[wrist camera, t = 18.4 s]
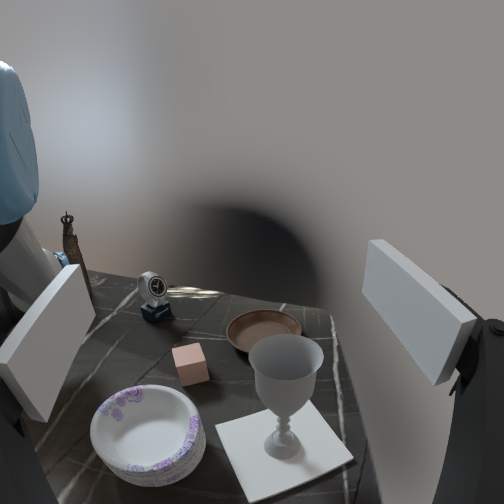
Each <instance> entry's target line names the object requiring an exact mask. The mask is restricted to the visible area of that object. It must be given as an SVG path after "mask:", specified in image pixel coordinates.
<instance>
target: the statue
mask: <svg viewBox="0 0 504 504" xmlns="http://www.w3.org/2000/svg"><path fill="white" fill-rule="evenodd" d="M63 218H65V219H64V220H65V222H64V221H63ZM67 218H70V221H69V222H67ZM71 220H72V221H71ZM61 222H62V223H63V226H64V228H63V248H64V253H65V254H66V256H67V258H68V261H69V264H70V265H74V264H80V266H81V270H82V273H83V277H84V280H85V284H86V287H87V290H88V293H89V295H90V293H91V285H90V282H89V279H88V275H87V271H86V268H85V264H84V262H83V258H82V255H81V252H80V249H79V246H78V239H77V236H76V234H75V236H74V235H73V228H72V224H71V223H72V222H73V216H71V215H67V212H66V215H65V216H63V217H62V218H61Z"/></svg>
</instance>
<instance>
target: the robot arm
mask: <svg viewBox="0 0 504 504" xmlns="http://www.w3.org/2000/svg"><path fill="white" fill-rule="evenodd" d="M38 189H39V181H38V166H37V157H36V149H35V143H34V137H33V133H32V130H31V127H30V114H29V110H28V105H27V101H26V98H25V94H24V91H23V87H22V85H21V82H20V80H19V77H18V76H17V74H16V72H15V71H14V69H13V68H12V67H11V66H10V65H8V64H4V63H3V62H1V61H0V504H59V503H58V501H57V499H56V497H55V495H54V493H53V491H52V489H51V487H50V485H49V483H48V481H47V479H46V477H45V474H44V472H43V470H42V467H41V465H40V463H39V460H38V458H37V455H36V453H35V450H34V448H33V445H32V442H31V439H30V437H29V434H28V431H27V428H26V425H25V422H24V420H23V418H22V417H21V416H20V414H21V412H22V410H23V409H24V411H25V412H26V413H27V415H28V416H29V417H30V418H31V419H32V420H36V421H41V422H45V423H47V422H48V419H49V417H50V414H51V411H52V409H53V406H54V404H55V401H56V399H57V397H58V394H59V392H60V389H61V387H62V385H63V382H64V380H65V378H66V376H67V373H68V371H69V369H70V367H71V364H72V362H73V360H74V358H75V356H76V354H77V352H78V349H79V347H80V345H81V343H82V341H83V339H84V337H85V335H86V333H87V331H88V329H89V327H90V325H91V323H92V321H93V319H94V317H95V316H96V315H95V312H94V309H93V306H92V303H91V300H90V297H89V293H88V290H87V287H86V284H85V280H84V277H83V273H82V270H81V266H80V264H74V265H70V264H69V261H68V258H67V256H66V254H65V253H64V252H54V253H51V252H49V251H48V250H46V249H43V248H42V247H41V245H40V243H39V241H38V239H37V237H36V236H35V234H34V232H33V230H32V228H31V226H30V224H29V222H28V220H27V217H26V215H25V214H27V213H28V212H30V210H32V207H33V206H34V204H35V203H36V201H37V196H38ZM362 293H363V294H364V295H365V296H366V298H367V299H368V300H369V301H370V303H371V304H372V305H373V306H374V308H375V309H376V310H377V312H378V313H379V314H380V315H381V316H382V318H383V319H384V320H385V322H386V323H387V324H388V326H389V327H390V328H391V329H392V331H393V332H394V333H395V335H396V336H397V337H398V339H399V340H400V341H401V342H402V344H403V345H404V346H405V348H406V349H407V350H408V352H409V353H410V354H411V356H412V357H413V358H414V360H415V361H416V363H417V364H418V365H419V367H420V368H421V369H422V371H423V372H424V373H425V375H426V376H427V378H428V379H429V380H430V382H431V383H432V385H433V386H436V385H439V384H441V383H443V382H446V381H448V380H449V379H450V377H451V376H452V374H453V371H454V370H455V368H456V369H457V370H458V371H459V373H460V375H459V376H458V378H457V380H456V382H455V384H454V386H453V388H452V389H451V391H450V394H449V395H450V396H451V395H452V394H453V392H454V391H455V390H456V393H455V402H454V410H453V417H452V423H451V429H450V435H449V440H448V446H447V451H446V455H445V459H444V464H443V468H442V472H441V476H440V479H439V483H438V486H437V490H436V493H435V496H434V500H433V503H432V504H504V322H502V321H500V320H497V319H488V320H486V321H485V320H483V318H482V317H480V316H479V315H478V314H477V313H476V312H475V311H474V310H473V309H472V308H471V307H469V306H468V305H467V304H466V303H464V302H463V300H462V299H460V298H459V297H457V295H456V294H455V293H453V292H452V291H451V290H450V289H448V288H446V287H444V286H442V285H440V284H438V283H437V282H436V281H435V280H433V279H432V278H431V277H430V276H429V275H427V274H426V273H425V272H424V271H423V270H421V269H420V268H419V267H418V266H416V265H415V264H414V263H413V262H411V261H410V260H409V259H408V258H406V257H405V256H404V255H403V254H401V253H400V252H399V251H398V250H396V249H395V248H394V247H392V246H391V245H390V244H388V243H387V242H386V241H385V240H383V239H381V240H369V246H368V254H367V262H366V269H365V277H364V283H363V290H362Z"/></svg>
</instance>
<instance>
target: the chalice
mask: <svg viewBox="0 0 504 504" xmlns="http://www.w3.org/2000/svg"><path fill="white" fill-rule="evenodd" d="M323 358H324V356H323V352H322V349H321V348H320V347H319V346H318V344H317V343H315V342H314V341H312V340H311V339H309V338H306V337H303V336H300V335H294V334H277V335H272V336H268V337H266V338H263V339H261V340H259V341H258V342H257V343H255V344H254V345H253V346H252V348H251V350H250V351H249V361H250V364H251V366H252V367H253V368H254V369H255V381H256V392H257V394H258V396H259V398H260V399H261V401H262V402H263V404H264V405H265V406H266V407H267V408H268V409H269V410H270V411H272V412H273V413H274V414H275V415H276V416H278V417H277V422H278V423H279V424H277V426H276V429H277V430H275V431H273V432H272V433H271V434H270V435H269V436H268V437H267V438H266V439H265V442H264V449H265V452H266V453H267V454H268V455H269V456H271V457H273V458H275V459H288V458H291V457H293V456H294V455H296V454H297V453H298V451H299V449H300V446H301V445H300V440H299V438H298V437H297V436H296V435H295V434H294V433H293V432H292V431H291V430H290V425H289V424H288V423H289V422H290V416H292V415H293V414H295V413H296V412H297V411H299V410H300V409H301V408H302V407H303V406H304V405H305V404H306V402H307V401H308V400H309V399H310V397H311V396H312V394H313V391H314V386H315V378H316V371H317V369H318V368H319V367H320V366H321V365H322V361H323Z"/></svg>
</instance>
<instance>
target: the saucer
mask: <svg viewBox="0 0 504 504" xmlns="http://www.w3.org/2000/svg"><path fill="white" fill-rule="evenodd" d="M226 333H227V338H228V340H229V341H230V343H231V344H232V345H233V346H235V347H236V348H237V349H239V350H240V351H242V352H244V353H247V354H249V351H250V350H251V348H252V346H253V345H254V344H255V343H257V342H258V341H259V340H261V339H263V338H266V337H268V336H272V335H277V334H294V335H300V336H301V326H300V324H299V322H298V321H297V320H296V319H295V318H294V317H293V316H291V315H289V314H287V313H285V312H282V311H277V310H268V309H262V310H254V311H249V312H246V313H243V314H241V315H239V316H237V317H236V318H235V319H233V320H232V321H231V322H230V324H229V325H228V327H227V332H226Z"/></svg>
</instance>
